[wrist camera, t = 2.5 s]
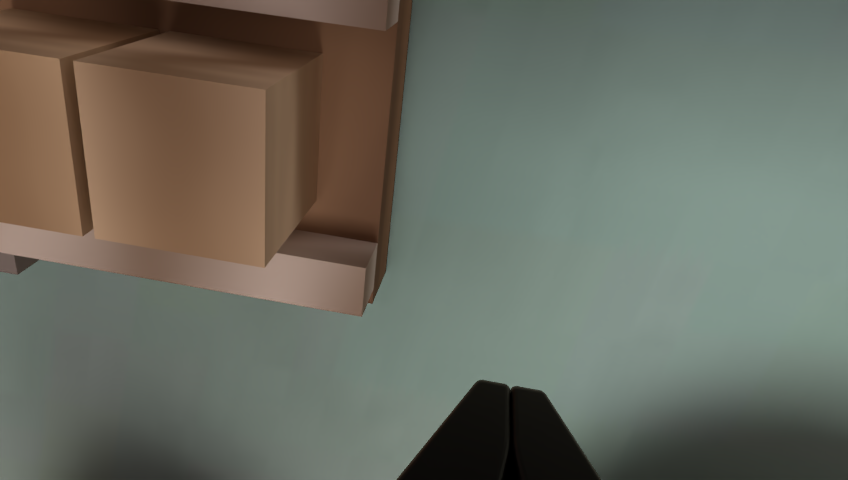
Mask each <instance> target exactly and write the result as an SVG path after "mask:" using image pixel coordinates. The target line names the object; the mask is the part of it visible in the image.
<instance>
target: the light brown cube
mask: <svg viewBox="0 0 848 480" xmlns="http://www.w3.org/2000/svg"><path fill="white" fill-rule="evenodd" d="M156 35H159V30H158V29H151V28H145V27H138V26H131V25H124V24H117V23H110V22H103V21H96V20H89V19H83V18H76V17H69V16H62V15H55V14H48V13H41V12H34V11H28V10H21V9H14V8H11V9H5V10H0V222H2V223H8V224H13V225H19V226H25V227H31V228H36V229H42V230H48V231H54V232H59V233H65V234H71V235H77V236H82V237H83V236H84V235H85V234H87V233H88V232H90V231H91V230H92V229H94V228H93V220H92V212H91V204H90V196H89V187H88V179H87V171H86V163H85V155H84V147H83V138H82V130H81V122H80V114H79V106H78V98H77V89H76V81H75V73H74V65H73V61H74V60H77V59H81V58H84V57H87V56H90V55H94V54H97V53H100V52H103V51H107V50H110V49H113V48H116V47H120V46H123V45H126V44H129V43H133V42H136V41H139V40H143V39H146V38H149V37H152V36H156Z"/></svg>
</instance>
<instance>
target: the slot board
mask: <svg viewBox="0 0 848 480" xmlns="http://www.w3.org/2000/svg"><path fill="white" fill-rule="evenodd" d="M11 8H14V9H21V10H28V11H34V12H41V13H48V14H55V15H62V16H69V17H76V18H83V19H89V20H96V21H103V22H110V23H117V24H124V25H131V26H138V27H145V28H151V29H158V30H159V34H162V33H165V32H169V31H173V32H180V33H187V34H193V35H200V36H207V37H214V38H221V39H228V40H235V41H242V42H249V43H255V44H262V45H269V46H276V47H283V48H290V49H297V50H304V51H311V52H317V53H323V64H322V88H321V111H320V134H319V157H318V180H317V201H316V202H315V203H314V204H313V206H312V207H311V208H310V210H309V211H308V212H307V214H306V215H305V216H304V217H303V219H302V220H301V221H300V223H299V224H298V225H297V227H296V228H295V229H294V230H293V232H292V233H291V234H290V236H289V237H288V238H287V240H286V241H285V242H284V243H283V245H282V246H281V247H280V249H279V250H278V251H277V253H276V254H275V255H274V256H273V258H272V259H271V260H270V262H269V263H268V264H267V266H266V267H265V268H262V267H256V266H250V265H244V264H239V263H233V262H227V261H221V260H216V259H210V258H204V257H198V256H193V255H187V254H181V253H175V252H170V251H164V250H158V249H152V248H146V247H141V246H135V245H129V244H123V243H118V242H112V241H106V240H100V239H95V236H94V229H92V230H91V231H90V232H88V233H87V234H85V235H84V236H83V237H82V236H77V235H71V234H65V233H59V232H54V231H48V230H42V229H36V228H31V227H25V226H19V225H13V224H8V223H2V222H0V252H1V253H6V254H12V255H17V256H23V257H29V258H34V259H40V260H46V261H51V262H57V263H63V264H68V265H74V266H79V267H85V268H91V269H96V270H102V271H108V272H113V273H119V274H125V275H130V276H136V277H141V278H147V279H153V280H158V281H164V282H170V283H175V284H181V285H187V286H192V287H198V288H203V289H209V290H215V291H220V292H226V293H232V294H237V295H243V296H249V297H254V298H260V299H265V300H271V301H277V302H282V303H288V304H294V305H299V306H305V307H311V308H316V309H322V310H327V311H333V312H339V313H344V314H350V315H356V316H361V317H362V315H363V312H364V310H365V308H366V306H367V303H371V304H372V303H373V301H374V298H375V296H376V293H377V291H378V289H379V286H380V284H381V281H382V279H383V277H384V274H385V272H386V263H387V252H388V242H389V232H390V222H391V212H392V202H393V192H394V181H395V171H396V161H397V151H398V141H399V131H400V121H401V111H402V100H403V90H404V80H405V70H406V60H407V50H408V40H409V29H410V19H411V9H412V0H0V10H5V9H11Z"/></svg>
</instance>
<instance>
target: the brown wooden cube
mask: <svg viewBox="0 0 848 480" xmlns="http://www.w3.org/2000/svg"><path fill="white" fill-rule="evenodd" d="M322 64H323V53H317V52H311V51H304V50H297V49H290V48H283V47H276V46H269V45H262V44H255V43H249V42H242V41H235V40H228V39H221V38H214V37H207V36H200V35H193V34H187V33H180V32H173V31H169V32H165V33H162V34H159V35H156V36H152V37H149V38H146V39H143V40H139V41H136V42H133V43H129V44H126V45H123V46H120V47H116V48H113V49H110V50H107V51H103V52H100V53H97V54H94V55H90V56H87V57H84V58H81V59H77V60H74V61H73V65H74V73H75V81H76V89H77V98H78V106H79V114H80V122H81V130H82V138H83V147H84V155H85V163H86V171H87V179H88V187H89V196H90V204H91V212H92V220H93V228H94V236H95V239H100V240H106V241H112V242H118V243H123V244H129V245H135V246H141V247H146V248H152V249H158V250H164V251H170V252H175V253H181V254H187V255H193V256H198V257H204V258H210V259H216V260H221V261H227V262H233V263H239V264H244V265H250V266H256V267H262V268H265V267H266V266H267V264H268V263H269V262H270V260H271V259H272V258H273V256H274V255H275V254H276V253H277V251H278V250H279V249H280V247H281V246H282V245H283V243H284V242H285V241H286V240H287V238H288V237H289V236H290V234H291V233H292V232H293V230H294V229H295V228H296V227H297V225H298V224H299V223H300V221H301V220H302V219H303V217H304V216H305V215H306V214H307V212H308V211H309V210H310V208H311V207H312V206H313V204H314V203H315V202H316V201H317V180H318V157H319V134H320V111H321V88H322Z"/></svg>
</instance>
